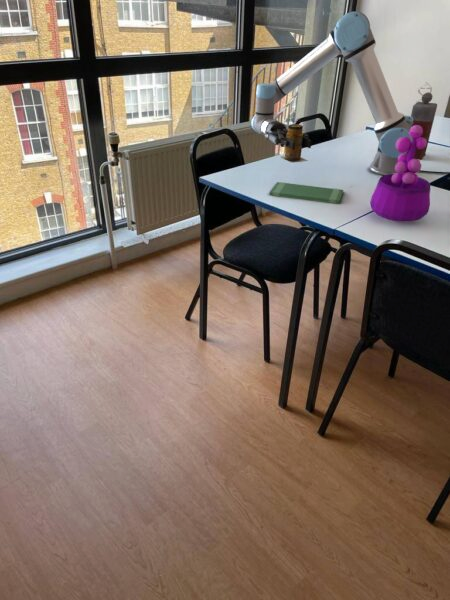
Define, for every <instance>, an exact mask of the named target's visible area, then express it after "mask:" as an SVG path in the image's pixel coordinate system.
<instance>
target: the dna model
mask: <svg viewBox="0 0 450 600" xmlns="http://www.w3.org/2000/svg"><path fill="white" fill-rule="evenodd" d="M425 86H428V87H425ZM422 89H423V90H424V89H427V90H428V89H429V90H430V91H429V93H431V94H432V90H433V87H432V85H430V84H429V83H428V82H427V81H425V84H423V85H421V86H420V87H419V88H418V90H417V92H418V94H419V95H420V96H421V97H422V96H423V95H424V94H423V93H421V91H420V90H422ZM421 101H422V98H420V99H418V100H416V101H415V103H414V104H416V103H417V102H421Z"/></svg>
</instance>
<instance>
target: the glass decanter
mask: <svg viewBox="0 0 450 600" xmlns="http://www.w3.org/2000/svg"><path fill="white" fill-rule="evenodd" d="M422 95H423V96H422ZM422 95H421V99H422V100H421V101H418V102H417V103H416V102H415V103H416V104H415V103H414V104H413V105H412V108H411V114H410V116H411V117H413V125H412V127H413V126H414V125H419V126H421V127H422V129H423V130H422V131H423V133H422V135H421V136H420V137H421V138H425V139H426V141H427V144H426V146H425V147H424V148H423V149H417V148H416V146H415V154H414V159H417V160H419V161H422V160H423V159H424V157H425V156H426V154H427V149H428V145H429V141H430V136H431V132H432V129H433V124H434V122H435V121H434V120H435V117H436V112H437V108H438V103H436V102H431V101H433V98H434V96H433V93H432V92H431V93H430V91H427V92H425V93H423V94H422ZM420 137H418V138H420ZM418 138H416V140H417V139H418ZM412 141H413V140H412ZM407 154H408V152H407Z"/></svg>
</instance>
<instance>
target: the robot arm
mask: <svg viewBox="0 0 450 600" xmlns="http://www.w3.org/2000/svg"><path fill="white" fill-rule="evenodd" d="M376 44H377V41H376V39H375V37H374V34H373V31H372V29H371V23H370V20H369V18H368V16H367V15H366V14H365V13H363V12H362V11H349V12H347V13H345V14H343V15H342V16H341V17H340V18H339V20H338V21H337V22H336V24H335V27H334V28H333V29H332V30H331V31H330V32H329V34H328V37H327V38H326V39H324V40H323V41H322V42H321V43H319V44H318V45H317V46H316V47H314V48H313V49H312V50H310V51H309V52H308V53H306V55H305V56H303V57H302V58H301V59H300V60H298V61H297V62H296V63H295V64H293V65H292V66H291V67H290V68H289V69H287V70H286V71H284V72H283V73H282V74H281V75H280V76H279V77H277V78H276V79H275V80H273V81H272V82H269V83H267V82H266V83H263V82H262V83H259V84H258V85H257V86H256V92H255V115H254V116H253V117H252V119H251V128H252V129H253V131H255V133H257V134H258V135H261V136H263V137H265V140H267V141H270V142H271V143H273V144H274V145H275V146H279V145H280V148H284V147H286V146H287V147H288V148H290V149H292V150H294V148H295V142H294V141H292V140H290V139H289V138H286V136H287V133H288V128H287V127H286V125H285V124H284V123H282V122H281V121H278V120H277V119H274V115H275V105H276V104H277V103H278V102H280V101H281V100H282V99H283V98H285V97H286V96H288V94H290V93H291V92H292V91H294V90H295V89H297V88H298V87H299V86H300V85H302V84H303V83H304V82H305V81H307V80H308V79H309V78H311V77H312V76H313V75H315V74H316V73H317V72H318V71H320V70H321V69H322V68H324V67H325V66H326V65H327V64H329V63H330V62H331V61H333V60H334V59H335V58H336V57H338V56H342V57H343V59H344V61H345V62H347V63H349V64H350V65H351V67H352V69H353V71H354V74H355V77H356V79H357V81H358V83H359V86H360V89H361V91H362V93H363V95H364V98H365V100H366V103H367V105H368V107H369V108H368V109H369V110H370V113H371V115H372V118H373V120H374V122H375V124H374V127H373V131H374V133H375V135H376V138H377V141H378V145H377V150H376V153H375V155H374V157H373V158H372V160H371V163H370V165H369V171H370V172H371V173H373V174H375V175H378V176H384V175H388V174H396V173H397V172H396V171H395V166H396V164H397V162H398V157H399V155H400V154H402V153H401V152H399V151H398V150H397V149H396V142H397V140H398V139H399V138H402V137H408V138H410V140H411V143H412V140H413V138H412V137H411V136H410V134H409V130H410V129H411V128H412V125H413V117H411V115H405V114H404V113H403V112H399V111H398V108H397V106H396V103H395V101H394V98H393V96H392V93H391V91H390V88H389V86H388V82H387V81H386V77H385V75H384V72H383V70H382V68H381V65H380V61H379V60H378V57H377V55H376V52H375V47H376ZM302 134H303V140H302V146H304V147H306V148H308V149H311V148H312V140H311V139H310V138H309V135H308V134H306V133H304V132H302ZM407 152H408V151H407ZM407 152H404V153H407ZM417 173H427V174H439V175H440V174H441V175H448V174H449V175H450V171H434V170H423V169H420V171H418V172H417ZM401 174H403V173H401Z"/></svg>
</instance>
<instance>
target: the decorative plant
mask: <svg viewBox="0 0 450 600" xmlns="http://www.w3.org/2000/svg"><path fill="white" fill-rule="evenodd" d="M422 130H423V129H422V127H421V126H419V125H414V126H413V127H412V128H411V129H410V130H409V134H410V136H411V137H412V138H413V141H412V143H411V140H410V138H408V137H402V138H399V139H398V140H397V142H396V149H397V150H398V151H399V152H401V153H402V154H400V155H399V157H398V162H397V164H396V166H395V171H396V172H397V173H396V174H388V175H384V176H383V175H381V177H379V179H378V180H377V184H376V187H375V189H374V190H373V193H372V194H371V197H370V201H369V206H370V208H371V209H372V211H373V212H374V213H375V215H377V216H379V217H381V218H383V219H386V220H389V221H394V222H399V223H401V222H403V223H405V222H415V221H419V220H421V219H423V218H424V217H425V216H427V215H428V213H429V212H430V206H431V183H430V181H428V180H427V179H425V178H423V177H421V176H418V173H419V172H418V171H420V170H422V163H421V160H418V159H414V154H415V146H416V148H417V149H423V148H424V147H425V146H426V144H427V141H426V139H425V138H421V137H420V136H421V135H422V133H423V131H422ZM418 137H420V138H418ZM416 138H418V139H417V140H416ZM407 151H408V154H407V153H404V152H407ZM401 173H403V174H401Z"/></svg>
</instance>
